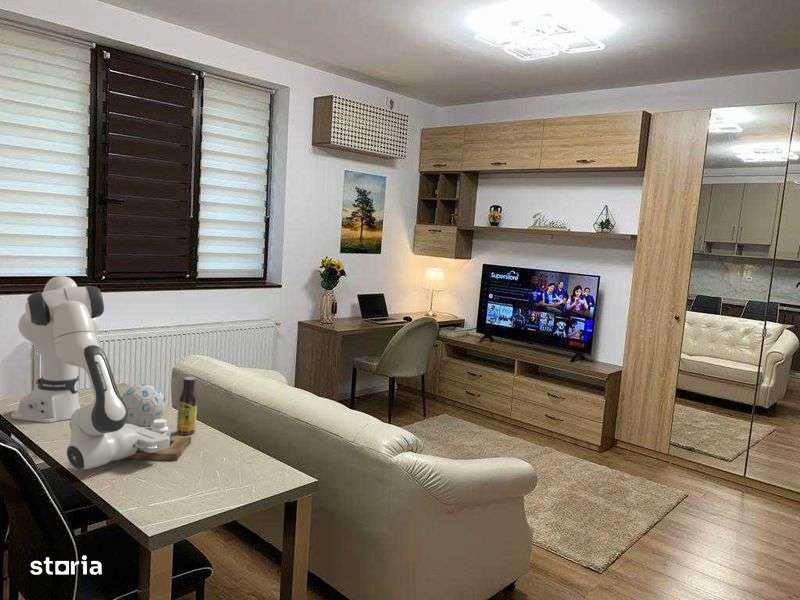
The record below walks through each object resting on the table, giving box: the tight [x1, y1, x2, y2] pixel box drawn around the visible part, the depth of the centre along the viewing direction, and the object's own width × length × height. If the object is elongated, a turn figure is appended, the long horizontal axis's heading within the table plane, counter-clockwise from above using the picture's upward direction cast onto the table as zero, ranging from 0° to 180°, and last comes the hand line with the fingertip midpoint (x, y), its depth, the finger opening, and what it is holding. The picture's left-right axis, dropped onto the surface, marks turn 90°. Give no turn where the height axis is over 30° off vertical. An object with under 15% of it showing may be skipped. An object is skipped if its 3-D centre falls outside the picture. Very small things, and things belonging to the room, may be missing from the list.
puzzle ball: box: [121, 384, 166, 427], centre depth 217 cm, size 15×15×15 cm
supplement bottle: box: [151, 418, 170, 434], centre depth 197 cm, size 5×5×10 cm
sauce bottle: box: [176, 376, 198, 436], centre depth 213 cm, size 7×6×20 cm
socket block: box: [125, 435, 192, 461], centre depth 197 cm, size 16×16×2 cm
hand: (161, 431), depth 197 cm, fingers closed on supplement bottle, 5 cm apart
